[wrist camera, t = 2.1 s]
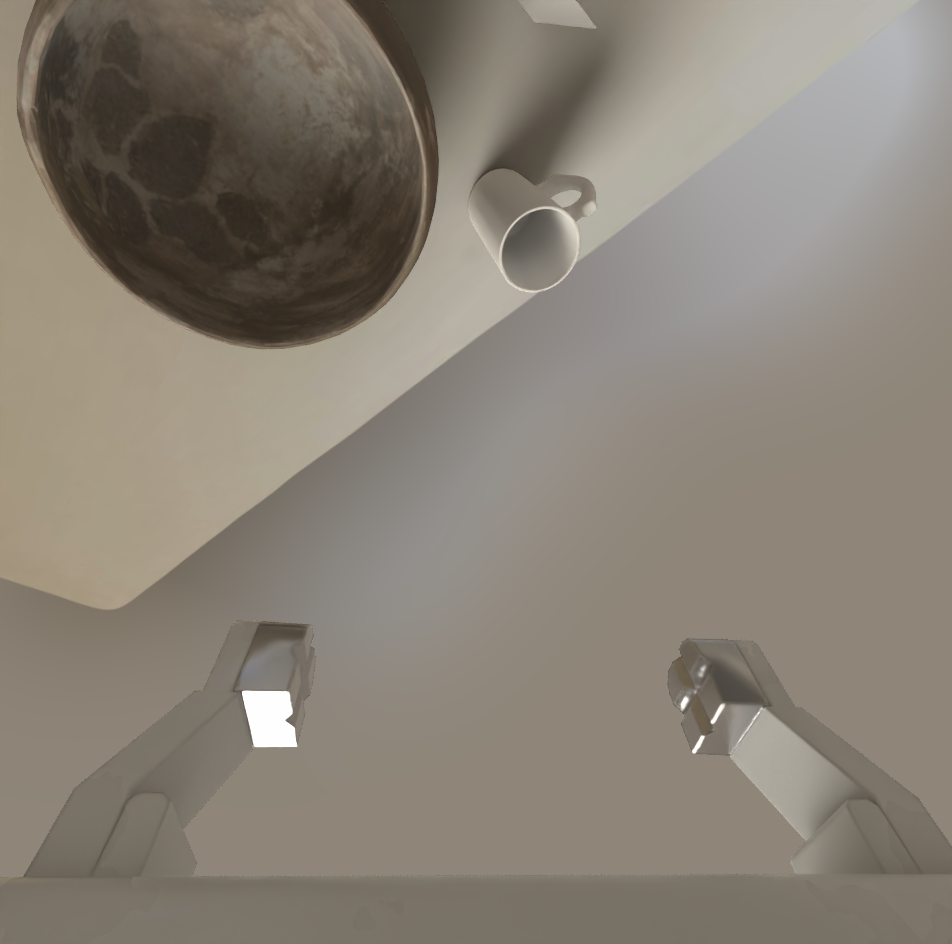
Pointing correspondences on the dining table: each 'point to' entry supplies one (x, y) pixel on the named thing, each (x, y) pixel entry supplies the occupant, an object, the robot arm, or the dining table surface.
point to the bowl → (235, 156)
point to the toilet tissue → (557, 12)
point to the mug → (530, 225)
